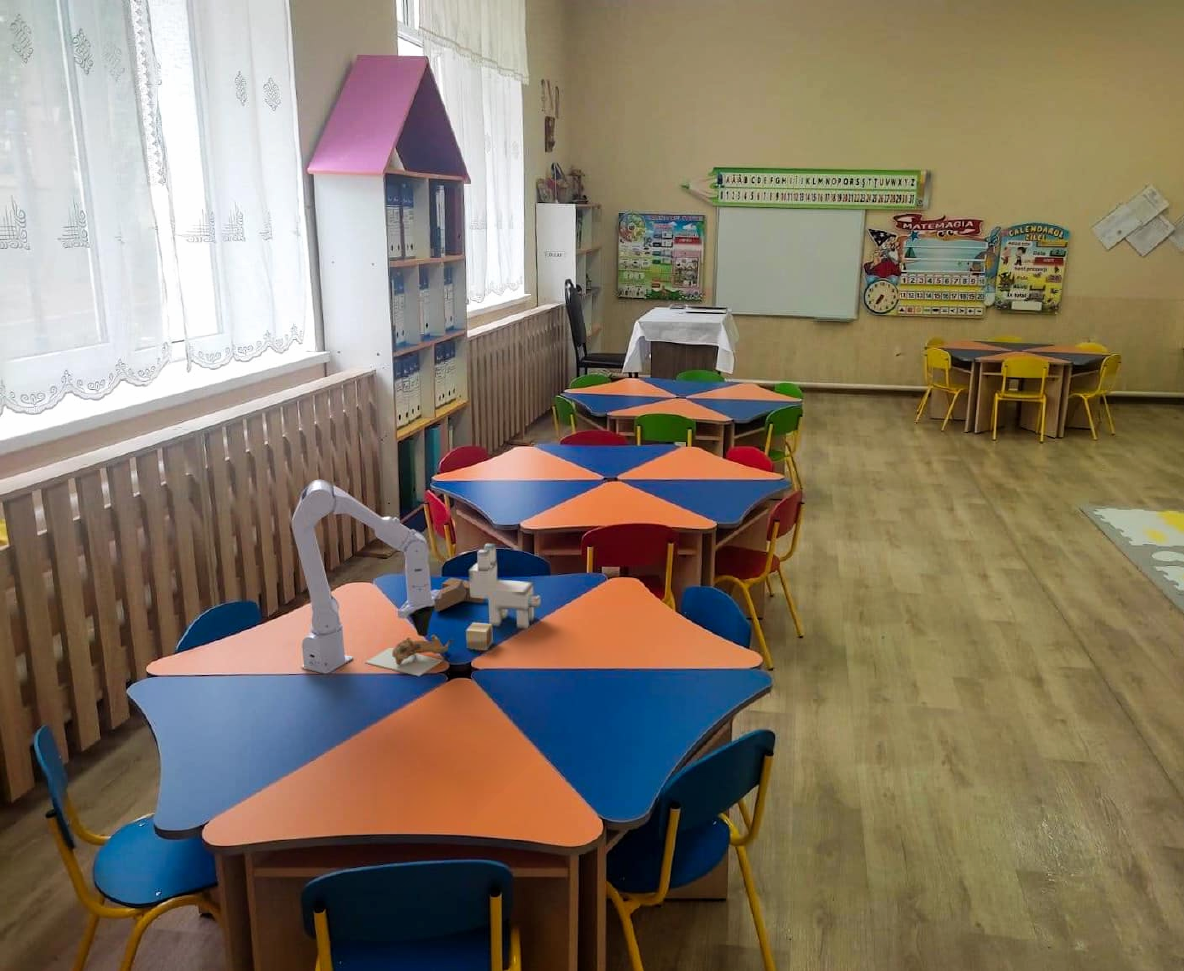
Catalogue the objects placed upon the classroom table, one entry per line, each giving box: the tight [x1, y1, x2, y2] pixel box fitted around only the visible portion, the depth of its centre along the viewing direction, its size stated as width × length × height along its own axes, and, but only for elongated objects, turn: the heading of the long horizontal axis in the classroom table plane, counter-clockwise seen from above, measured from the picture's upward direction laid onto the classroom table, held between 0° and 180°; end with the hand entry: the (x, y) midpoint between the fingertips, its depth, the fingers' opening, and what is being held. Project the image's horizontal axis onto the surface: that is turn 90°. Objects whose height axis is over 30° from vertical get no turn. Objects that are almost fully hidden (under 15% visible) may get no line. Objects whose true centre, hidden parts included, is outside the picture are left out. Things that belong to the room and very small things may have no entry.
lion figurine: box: [392, 634, 455, 665], centre depth 233 cm, size 15×5×9 cm
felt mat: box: [365, 647, 443, 677], centre depth 232 cm, size 9×16×1 cm, turn 62°
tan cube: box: [465, 622, 494, 651], centre depth 241 cm, size 5×5×5 cm
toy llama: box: [468, 542, 541, 630], centre depth 253 cm, size 8×18×20 cm, turn 76°
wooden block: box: [433, 577, 485, 612], centre depth 268 cm, size 8×13×18 cm
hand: (422, 635), depth 237 cm, fingers closed, pressing on lion figurine
